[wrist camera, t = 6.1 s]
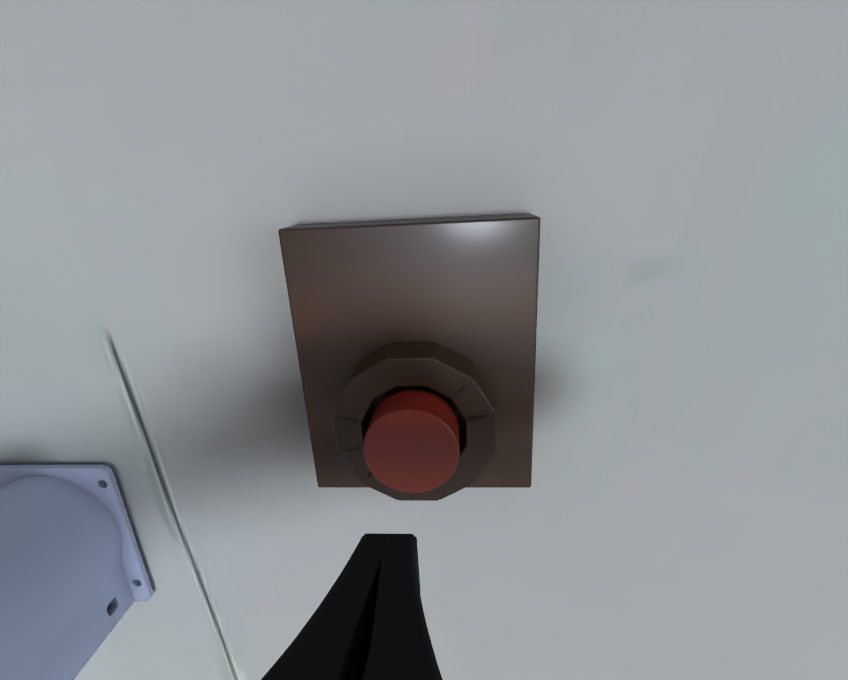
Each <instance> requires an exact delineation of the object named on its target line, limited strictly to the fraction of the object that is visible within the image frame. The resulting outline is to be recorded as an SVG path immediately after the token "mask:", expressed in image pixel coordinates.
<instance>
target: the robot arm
mask: <svg viewBox="0 0 848 680" xmlns="http://www.w3.org/2000/svg"><path fill="white" fill-rule="evenodd" d="M152 594H153V589H152V586H151V584H150V581H149V578H148V575H147V572H146V569H145V566H144V563H143V560H142V557H141V554H140V551H139V548H138V545H137V542H136V539H135V536H134V533H133V530H132V527H131V524H130V521H129V518H128V515H127V512H126V509H125V506H124V503H123V500H122V497H121V494H120V491H119V488H118V485H117V482H116V479H115V476H114V473H113V471H112V469H111V468H110V467H108V466H106V465H0V680H74V679H75V677H76V676H77V675H78V673H79V672H80V671H81V670H82V668H83V667H84V666H85V664H86V663H87V662H88V660H89V659H90V658H91V657H92V655H93V654H94V653H95V651H96V650H97V649H98V647H99V646H100V645H101V644H102V642H103V641H104V640H105V638H106V637H107V636H108V634H109V633H110V632H111V631H112V629H113V628H114V627H115V625H116V624H117V623H118V622H119V620H120V619H121V618H122V616H123V615H124V614H125V612H126V611H127V610H128V609H129V607H130V606H131V605H132V603H133V602H134V601H147V600H149V599H150V597H151V596H152ZM261 680H442V677H441V674H440V671H439V668H438V665H437V661H436V658H435V655H434V651H433V648H432V644H431V640H430V637H429V633H428V629H427V625H426V621H425V617H424V612H423V608H422V603H421V598H420V580H419V566H418V552H417V538H416V537H415V536H414V535H413V534H365V535H364V536H363V537H362V538H361V540H360V542H359V544H358V545H357V547H356V549H355V551H354V552H353V554H352V556H351V558H350V559H349V561H348V563H347V564H346V566H345V568H344V569H343V571H342V572H341V574H340V576H339V577H338V579H337V580H336V582H335V583H334V585H333V586H332V588H331V589H330V591H329V592H328V594H327V595H326V597H325V598H324V600H323V601H322V603H321V604H320V606H319V607H318V608H317V610H316V611H315V613H314V614H313V615H312V617H311V618H310V619H309V621H308V622H307V623H306V625H305V626H304V627H303V629H302V630H301V632H300V633H299V634H298V636H297V637H296V638H295V639H294V641H293V642H292V643H291V645H290V646H289V647H288V648H287V650H286V651H285V652H284V653H283V655H282V656H281V657H280V658H279V659H278V661H277V662H276V663H275V664H274V665H273V666H272V668H271V669H270V670H269V671H268V672H267V673H266V675H265V676H264V677H263V678H262V679H261Z"/></svg>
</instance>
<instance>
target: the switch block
mask: <svg viewBox="0 0 848 680" xmlns="http://www.w3.org/2000/svg"><path fill="white" fill-rule="evenodd" d="M279 238H280V244H281V251H282V257H283V263H284V270H285V276H286V283H287V289H288V296H289V302H290V308H291V315H292V321H293V328H294V334H295V341H296V347H297V353H298V360H299V366H300V373H301V379H302V386H303V392H304V398H305V405H306V411H307V418H308V424H309V430H310V437H311V443H312V450H313V456H314V463H315V469H316V475H317V482H318V487H371V488H373V489H375V490H377V491H379V492H382V493H384V494H386V495H388V496H390V497H392V498H394V499H397V500H398V499H399V500H439V499H442V498H444V497H446V496H449V495H451V494H453V493H455V492H457V491H459V490H461V489H463V488H465V487H530V486H531V471H532V442H533V413H534V384H535V356H536V327H537V298H538V269H539V241H540V217H537V216H534V215H532V214H529V213H528V214H508V215H487V216H466V217H445V218H424V219H404V220H383V221H362V222H341V223H321V224H300V225H294V226H290V227H286V228H282V229H280V230H279ZM405 390H422V391H426V392H430V393H432V394H434V395H436V396H438V397H440V398H441V399H443V400H444V401H445V402H446V403H447V404H448V405H449V406H450V407H451V408H452V410H453V411H454V413H455V415H456V417H457V420H458V423H459V441H460V456H459V462H458V465H457V468H456V470H455V471H454V473H453V474H452V476H451V477H450V478H449V479H448V480H447V481H446V482H445V483H444V484H442V485H441V486H439V487H437V488H435V489H433V490H430V491H426V492H421V493H406V492H401V491H397V490H394V489H392V488H390V487H388V486H386V485H384V484H383V483H381V482H380V481H379V480H378V479H376V478H375V476H374V475H373V474H372V473H371V471H370V470H369V468H368V466H367V464H366V462H365V459H364V454H363V443H364V438H365V435H366V432H367V430H368V427H369V424H370V421H371V418H372V416H373V413H374V411H375V409H376V408H377V406H378V405H379V404H380V403H381V402H382V401H383V400H384V399H385V398H387V397H388V396H390V395H392V394H394V393H397V392H400V391H405Z"/></svg>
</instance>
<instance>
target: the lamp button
mask: <svg viewBox="0 0 848 680" xmlns="http://www.w3.org/2000/svg"><path fill="white" fill-rule="evenodd" d="M363 454H364V459H365V462H366V464H367V466H368V468H369V470H370V471H371V473H372V474H373V475H374V476H375V478H376V479H378V480H379V481H380V482H381V483H383V484H384V485H386V486H388V487H390V488H392V489H394V490H397V491H401V492H406V493H421V492H426V491H430V490H433V489H435V488H437V487H439V486H441V485H442V484H444V483H445V482H446V481H447V480H448V479H449V478H450V477H451V476H452V474H453V473H454V471H455V470H456V468H457V465H458V462H459V456H460V441H459V423H458V420H457V417H456V415H455V413H454V411H453V410H452V408H451V407H450V406H449V405H448V404H447V403H446V402H445V401H444V400H443V399H441V398H440V397H438V396H436V395H434V394H432V393H430V392H426V391H422V390H405V391H400V392H397V393H394V394H392V395H390V396H388V397H387V398H385V399H384V400H383V401H382V402H381V403H380V404H379V405H378V406H377V408H376V409H375V411H374V413H373V416H372V418H371V421H370V424H369V427H368V430H367V432H366V435H365V438H364V443H363Z"/></svg>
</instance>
